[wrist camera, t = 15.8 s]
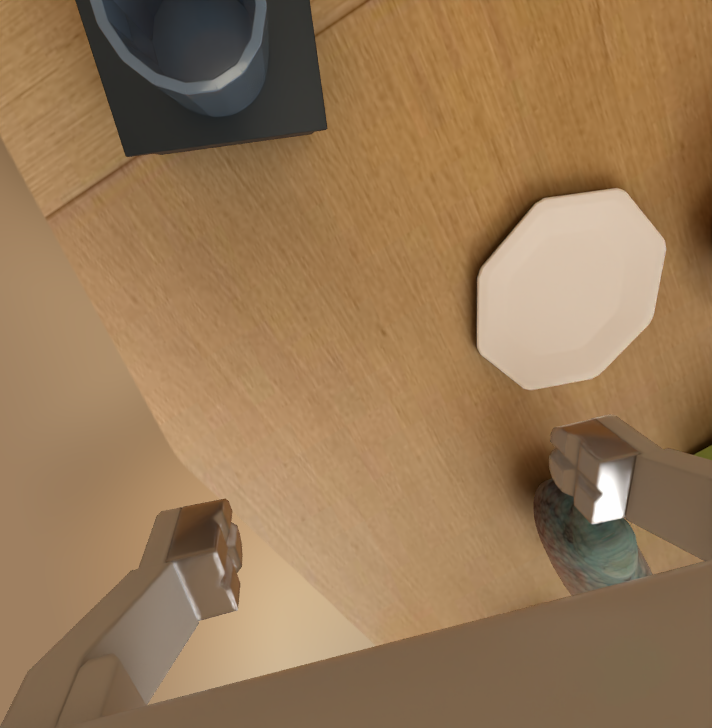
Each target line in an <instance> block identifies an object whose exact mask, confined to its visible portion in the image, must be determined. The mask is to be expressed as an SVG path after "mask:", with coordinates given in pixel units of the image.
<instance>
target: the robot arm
mask: <svg viewBox="0 0 712 728" xmlns="http://www.w3.org/2000/svg"><path fill="white" fill-rule="evenodd" d="M550 442H551V443H552V444H553V445H554V446H555V449H554V450H553V451H552V453H551V454H550V456H549V469H550V473H551V476H552V478H553V480H554V482H555V484H556V485H557V487H558V488H559V489H560V490H561V491H562V492H563V493H565V494H568V495H570V496H572V497H574V506H575V507H576V508H577V509H578V510H579V511H580V512H581V513H582V515H583V516H584V517H585V518H586V519H587V520H588V521H589V522H590V523H591V525H592V524H597V523H601V522H606V521H611V520H616V519H620V518H625V517H626V520H628V521H630V522H632V523H634V524H635V525H637V526H639V527H641V528H643V529H645V530H647V531H649V532H651V533H653V534H654V535H656V536H658V537H660V538H662V539H664V540H666V541H668V542H670V543H672V544H673V545H675V546H677V547H679V548H681V549H683V550H685V551H687V552H689V553H691V554H692V555H694V556H696V557H698V558H700V559H702V560H704V562H700V563H696V564H692V565H689V566H685V567H681V568H677V569H673V570H669V571H665V572H661V573H658V574H654V575H650V576H646V577H642V578H638V579H634V580H630V581H627V582H623V583H619V584H615V585H611V586H607V587H603V588H599V589H596V590H592V591H588V592H584V593H580V594H576V595H572V596H568V597H565V598H561V599H557V600H553V601H549V602H545V603H541V604H537V605H534V606H530V607H526V608H522V609H518V610H514V611H510V612H507V613H503V614H499V615H495V616H491V617H487V618H483V619H479V620H476V621H472V622H468V623H464V624H460V625H456V626H452V627H448V628H445V629H441V630H437V631H433V632H429V633H425V634H421V635H418V636H414V637H410V638H406V639H402V640H398V641H394V642H390V643H387V644H383V645H379V646H375V647H371V648H368V649H363V650H360V651H356V652H352V653H348V654H344V655H340V656H336V657H332V658H329V659H325V660H321V661H317V662H313V663H310V664H305V665H301V666H298V667H294V668H290V669H286V670H282V671H279V672H275V673H271V674H267V675H263V676H259V677H255V678H251V679H248V680H244V681H240V682H236V683H232V684H229V685H224V686H220V687H217V688H213V689H209V690H205V691H201V692H197V693H193V694H189V695H186V696H182V697H178V698H174V699H170V700H166V701H163V702H158V703H155V704H151V705H147V704H148V702H149V701H150V699H151V698H152V696H153V695H154V693H155V691H156V690H157V688H158V687H159V685H160V683H161V682H162V680H163V679H164V677H165V676H166V674H167V673H168V671H169V669H170V668H171V666H172V664H173V663H174V662H175V660H176V658H177V657H178V655H179V654H180V652H181V651H182V649H183V647H184V646H185V644H186V643H187V641H188V640H189V638H190V636H191V635H192V633H193V632H194V630H195V629H196V627H197V625H198V624H199V622H198V621H200V620H204V619H207V618H211V617H215V616H219V615H222V614H226V613H230V612H233V611H237V610H238V604H239V593H240V581H239V578H238V575H237V572H238V571H239V570H240V569H241V567H242V543H241V538H240V533H239V530H238V527H237V525H235V524H234V523H232V522H231V519H232V509H231V506H230V503H229V501H228V500H227V499H221V500H216V501H211V502H205V503H200V504H195V505H190V506H185V507H183V508H176V509H171V510H166V511H161V512H160V513H159V514H158V515H157V517H156V519H155V523H154V525H153V528H152V531H151V534H150V537H149V539H148V542H147V545H146V548H145V551H144V554H143V557H142V560H141V562H140V565H139V568H138V569H136V570H132V571H130V572H129V573H128V574H127V575H126V576H125V577H124V578H123V579H122V580H121V581H120V582H119V584H117V585H116V586H115V587H114V588H113V589H112V590H111V591H110V592H109V593H108V594H107V595H106V596H105V597H104V598H103V599H102V600H101V601H100V602H99V603H98V604H97V605H96V606H95V607H94V608H93V609H91V611H90V612H89V613H87V614H86V615H85V617H83V618H82V619H81V620H80V621H79V622H78V623H77V624H76V625H75V626H74V627H73V628H72V629H71V630H70V631H69V632H68V633H67V634H66V635H65V636H64V637H63V638H62V639H61V640H60V641H59V642H58V643H57V644H56V645H55V646H54V647H53V648H52V649H51V650H50V651H48V653H46V654H45V656H43V657H42V658H41V659H40V660H39V661H38V662H37V663H36V664H35V665H34V666H33V667H32V668H31V669H30V670H29V671H28V672H27V674H26V676H25V678H24V680H23V682H22V684H21V686H20V688H19V690H18V692H17V694H16V696H15V698H14V700H13V702H12V704H11V706H10V708H9V710H8V712H7V714H6V716H5V718H4V720H3V722H2V724H1V726H0V728H712V460H709V459H705V458H702V457H698V456H695V455H691V454H688V453H684V452H681V451H677V450H674V449H670V448H667V449H662V448H661V447H659V446H658V445H656V444H655V443H653V442H652V441H651V440H649V439H648V438H646V437H645V436H644V435H642V434H641V433H639V432H638V431H637V430H635V429H634V428H632V427H631V426H630V425H628V424H627V423H625V422H624V421H623V420H621V419H620V418H618V417H617V416H614V415H611V414H609V415H605V416H601V417H597V418H592V419H590V420H586V421H582V422H577V423H573V424H568V425H564V426H559V427H555V428H553V430H552V432H551V439H550Z"/></svg>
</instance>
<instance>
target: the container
mask: <svg viewBox="0 0 712 728" xmlns="http://www.w3.org/2000/svg"><path fill="white" fill-rule="evenodd" d="M75 1H76V4H77V7H78V10H79V13H80V16H81V19H82V22H83V25H84V28H85V32H86V35H87V38H88V41H89V44H90V47H91V50H92V53H93V56H94V59H95V62H96V66H97V69H98V72H99V75H100V78H101V81H102V84H103V87H104V90H105V93H106V96H107V100H108V103H109V106H110V109H111V112H112V115H113V118H114V121H115V124H116V127H117V130H118V134H119V137H120V140H121V143H122V146H123V149H124V152H125V155H126V156H127V157H132V156H139V155H147V154H159V155H163V154H170V153H178V152H185V151H192V150H200V149H207V148H214V147H221V146H229V145H236V144H243V143H250V142H258V141H265V140H272V139H280V138H287V137H294V136H301V135H309V134H312V133H313V132H315V131H322V130H326V129H327V122H326V115H325V107H324V100H323V93H322V86H321V79H320V72H319V65H318V57H317V50H316V43H315V36H314V29H313V22H312V15H311V7H310V0H266V3H267V20H268V39H269V61H268V71H267V75H266V80H265V83H264V85H263V87H262V89H261V91H260V93H259V94H258V96H257V97H256V99H255V100H254V101H253V102H252V103H251V104H250V105H249V106H248V107H246V108H245V109H244V110H242V111H240V112H238V113H236V114H233V115H229V116H224V117H211V116H206V115H202V114H199V113H197V112H194V111H191V110H189V109H187V108H186V107H184V106H183V105H181V104H180V103H179V102H177V101H176V100H174V99H173V98H172V97H170V96H169V95H167V94H166V93H165V92H163V91H162V90H160V89H159V88H157V87H156V86H155V85H153V84H152V83H151V82H149V81H148V80H147V79H145V78H144V77H143V76H141V75H140V74H139V73H138V72H136V71H135V70H134V69H132V68H131V67H130V66H129V65H127V64H126V63H125V62H123V60H122V59H121V58H120V57H119V55H118V54H117V52H116V51H115V50H114V48H113V47H112V45H111V44H110V42H109V41H108V39H107V38H106V36H105V35H104V34H103V32H102V31H101V29H100V28H99V26H98V24H97V22H96V19H95V15H94V12H93V9H92V6H91V3H90V0H75Z"/></svg>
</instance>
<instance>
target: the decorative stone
mask: <svg viewBox="0 0 712 728" xmlns="http://www.w3.org/2000/svg"><path fill="white" fill-rule="evenodd" d="M534 518H535V523H536V527H537V531H538V534H539V536H540V539H541V541H542V544H543V546H544V548H545V550H546V552H547V555H548V557H549V559H550V561H551V563H552V565H553V567H554V569H555V571H556V572H557V574H558V576H559V577H560V579H561V581H562V582H563V584H564V585H565V587H566V588H567V590H568V591H569V592H570V593H571V595H576V594H580V593H584V592H588V591H592V590H596V589H599V588H603V587H607V586H611V585H615V584H619V583H623V582H627V581H630V580H634V579H638V578H642V577H646V576H650V575H653V574H652V572H651V570H650V568H649V566H648V564H647V562H646V560H645V558H644V556H643V554H642V553H641V551H640V549H639V548H638V546H637V542H636V536H635V534H634V532H633V530H632V528H631V526H630V525H629V523H628V522H627V521H626V520H625V519H624V518H620V519H616V520H611V521H606V522H601V523H597V524H592V525H591V523H590V522H589V521H588V520H587V519H586V518H585V517H584V516H583V515H582V513H581V512H580V511H579V510H578V509H577V508H576V507H575V506H574V497H572V496H570V495H568V494H565V493H563V492H562V491H561V490H560V489H559V488H558V487H557V485H556V484H555V482H554V480H553V478H551V479H549V480H546V481H544V482H543V483H541V484H540V486H539V487H538V488H537V490H536V493H535V497H534Z"/></svg>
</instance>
